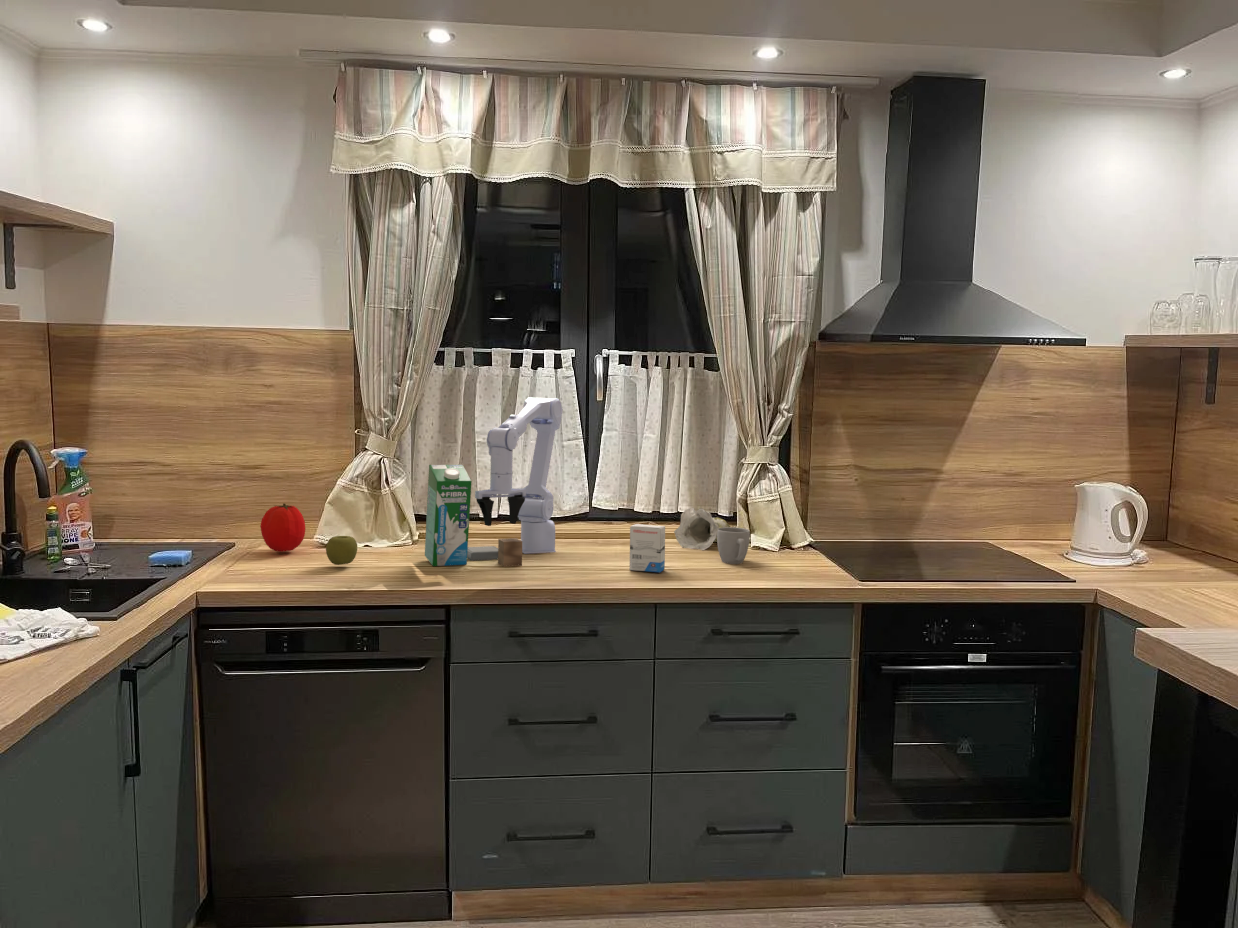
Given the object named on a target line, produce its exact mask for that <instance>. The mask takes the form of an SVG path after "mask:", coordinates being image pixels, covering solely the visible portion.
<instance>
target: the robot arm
mask: <svg viewBox="0 0 1238 928" xmlns="http://www.w3.org/2000/svg"><path fill="white" fill-rule="evenodd" d="M522 407H523V408H522V409H521V410H520V411H519V413H518V414H510V415H509V417H507V419H505V421H504V422H503V423H501V425H499V426H498V427H493V428H491V429H490V430H489V431H488V433H487V436H486V445H487V447H488V455H489V456H490V471H489V472H490V481H489V482H490V483H489V485H490V486H489V487H490V488H489V489H482V490H475V493H474V498H475V499H476V503H477V504H478V506H479V508H480V510H481V514H482V516H483V522H484V525H485V526H486V527H487V526H488V527H492V520H493V517H492V516H493V515H492V513H493V507H494V504H495V500H492V499H494V498H507V503H508V509H509V511H508V512H509V515H508V516H509V517H508V518H509V519H508V520H509V524H514V525H516V524H517V520H519V521H521V522H520V540H521V541H522V554H524V555H529V554H544V553H546V554H547V553H557V551H556V525H555V522H554V521H553V520H551V518H552V517H553V515H554V514H553V513H554V494H553V493H552V492H551V491H550V489H548V487H547V483H548V477H549V470H550V465H551V460H552V459H551V458H552V455H553V454H552V453H553V449H554V447H553V446H554V443H555V442H554V441H555V436H556V431H557V430H559V429H560V427H561V423H562V416H563V406H562V402H561V401H560V399H559V398H558V397H554V398H548V397H547V398H546V397H532V396H528V397H527V398H526V399H524V402H523V406H522ZM528 424H529V425H530V427H531V428H532V429H534V430H535V431H536V432H537V434H536V440H535V445H534V450H533V456H532V462H531V469H530V472H529V479H528V484H527V485H526V486H525V487H523V488H522V487H521V488H520V487H519V488H517V487H516V488H513V458H514V457H513V454H514V452H513V451H514V450H515V449H516V447H517V444H518V442H519V439H520V438H521V436H522V435H523V434H524V433H525V432H526V431H527V427H528Z"/></svg>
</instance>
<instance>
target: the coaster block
mask: <svg viewBox="0 0 1238 928" xmlns="http://www.w3.org/2000/svg"><path fill="white" fill-rule="evenodd" d="M467 560H469V561H470V562H471V561H473V562H474V561H490V560H491V561H492V560H493V561H494V560H498V547H497V546H494V545H491V546H490V545H486V546H484V545H483V546H468V550H467Z"/></svg>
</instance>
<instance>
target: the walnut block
mask: <svg viewBox="0 0 1238 928" xmlns="http://www.w3.org/2000/svg"><path fill="white" fill-rule="evenodd" d="M497 542H498V543H497V544H498V545H497V546H498V547H497V548H498V559H497V563H498V564H499V565H501V566H502V567H504V568H506V567H518V566H519V567H520V566H523V553H522V541H521V539H519V538H517V537H514V538H511V537H509V538H498V541H497Z"/></svg>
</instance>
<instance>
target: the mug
mask: <svg viewBox="0 0 1238 928" xmlns="http://www.w3.org/2000/svg"><path fill="white" fill-rule="evenodd" d="M750 534H751V531H750V530H749V529H747V528H743V527H731V526H730V527H724V528H718V530H717V550H718V554H719V557H720V560H721V562H722V563H724V564H730V565H740V564H743V562H744V560H745V558H746V556H747V554H748V550H749V545H750V536H751V535H750Z"/></svg>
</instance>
